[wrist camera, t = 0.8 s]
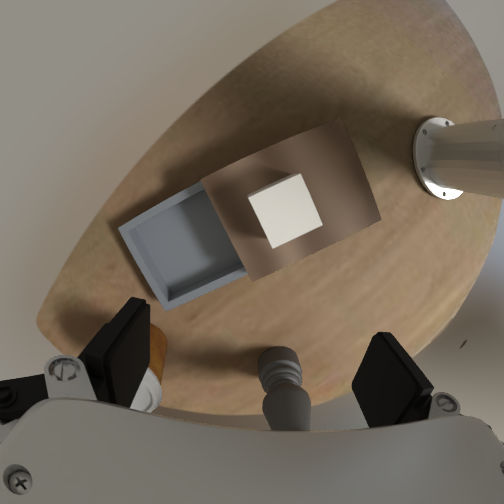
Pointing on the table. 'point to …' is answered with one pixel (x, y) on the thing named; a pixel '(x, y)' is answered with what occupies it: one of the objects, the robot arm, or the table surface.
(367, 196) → the brown wooden box
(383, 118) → the table surface
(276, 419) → the candle holder
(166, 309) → the box
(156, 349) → the disposable coffee cup
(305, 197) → the white block
